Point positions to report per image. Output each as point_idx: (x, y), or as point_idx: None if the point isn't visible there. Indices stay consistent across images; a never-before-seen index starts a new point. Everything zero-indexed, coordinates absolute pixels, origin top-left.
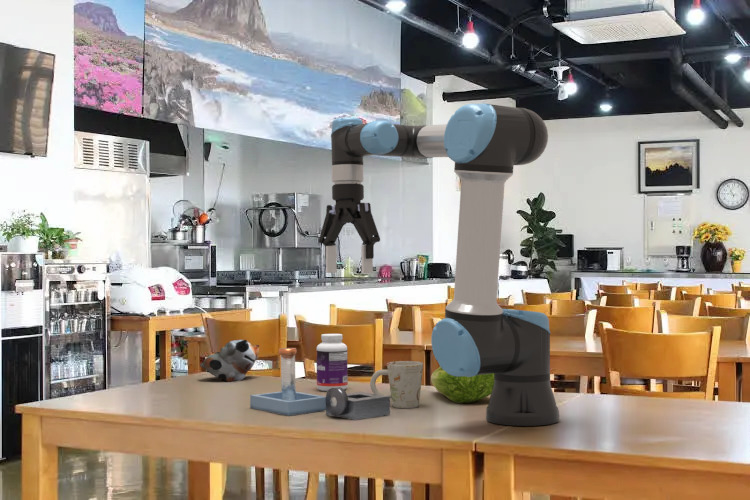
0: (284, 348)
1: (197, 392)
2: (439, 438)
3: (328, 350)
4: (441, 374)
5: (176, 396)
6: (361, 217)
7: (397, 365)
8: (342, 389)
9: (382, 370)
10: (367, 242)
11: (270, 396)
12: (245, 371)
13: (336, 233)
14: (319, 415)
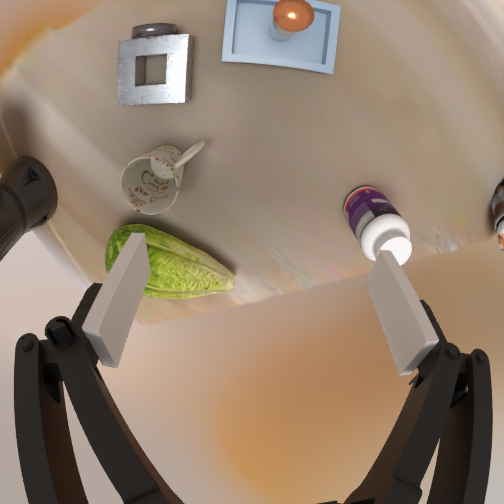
0: (305, 14)
1: (484, 97)
2: (10, 70)
3: (377, 218)
4: (155, 240)
5: (481, 58)
6: (52, 495)
7: (134, 159)
8: (137, 34)
9: (181, 159)
10: (55, 338)
11: (327, 33)
12: (495, 213)
13: (400, 427)
14: (197, 28)
